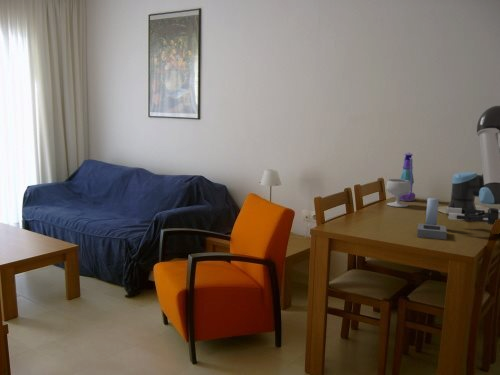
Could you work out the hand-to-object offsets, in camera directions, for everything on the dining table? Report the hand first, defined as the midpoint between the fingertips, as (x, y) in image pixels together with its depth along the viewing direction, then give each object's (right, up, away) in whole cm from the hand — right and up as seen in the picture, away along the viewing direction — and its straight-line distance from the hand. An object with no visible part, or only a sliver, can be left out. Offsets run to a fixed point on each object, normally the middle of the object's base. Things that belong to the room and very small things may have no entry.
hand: (447, 213), depth 225 cm
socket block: (-12, -9, -10) cm, 18 cm away
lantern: (+5, +4, +75) cm, 75 cm away
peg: (-6, -7, +4) cm, 11 cm away
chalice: (-6, +1, +57) cm, 57 cm away
